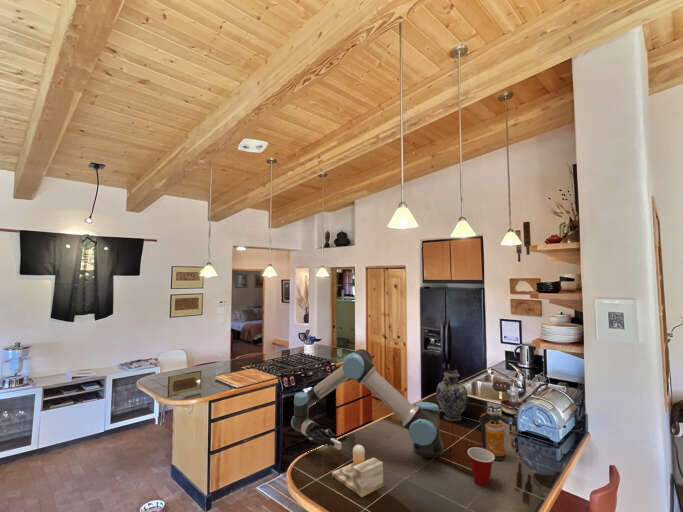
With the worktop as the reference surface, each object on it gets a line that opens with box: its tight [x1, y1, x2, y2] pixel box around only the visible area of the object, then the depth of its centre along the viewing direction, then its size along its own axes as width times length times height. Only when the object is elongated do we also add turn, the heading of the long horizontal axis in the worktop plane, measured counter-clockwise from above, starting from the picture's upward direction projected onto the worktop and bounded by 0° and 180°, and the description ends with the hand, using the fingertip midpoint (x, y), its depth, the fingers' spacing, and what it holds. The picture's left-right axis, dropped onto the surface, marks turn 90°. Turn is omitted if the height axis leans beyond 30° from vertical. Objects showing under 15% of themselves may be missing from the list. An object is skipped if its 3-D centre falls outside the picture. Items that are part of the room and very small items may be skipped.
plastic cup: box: [467, 446, 495, 487], centre depth 149 cm, size 11×11×12 cm
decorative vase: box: [435, 369, 469, 422], centre depth 218 cm, size 21×19×28 cm
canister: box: [479, 412, 507, 461], centre depth 170 cm, size 9×11×20 cm
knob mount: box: [331, 457, 384, 498], centre depth 152 cm, size 20×12×10 cm, turn 38°
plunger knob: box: [352, 444, 366, 466], centre depth 151 cm, size 5×5×14 cm
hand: (340, 446), depth 161 cm, fingers closed
